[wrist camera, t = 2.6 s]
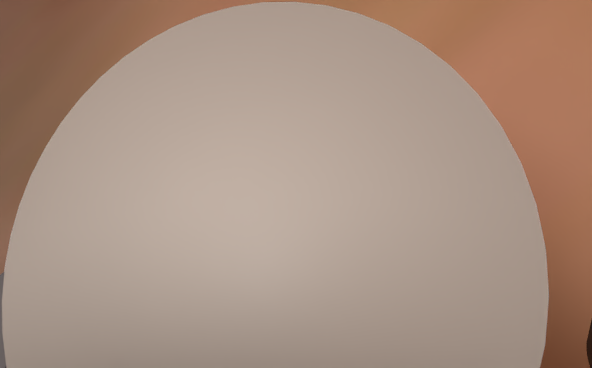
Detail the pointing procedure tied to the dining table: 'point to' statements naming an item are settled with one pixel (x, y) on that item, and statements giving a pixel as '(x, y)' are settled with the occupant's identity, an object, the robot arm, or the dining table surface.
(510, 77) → the dining table surface
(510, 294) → the banded post
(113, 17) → the dining table surface
